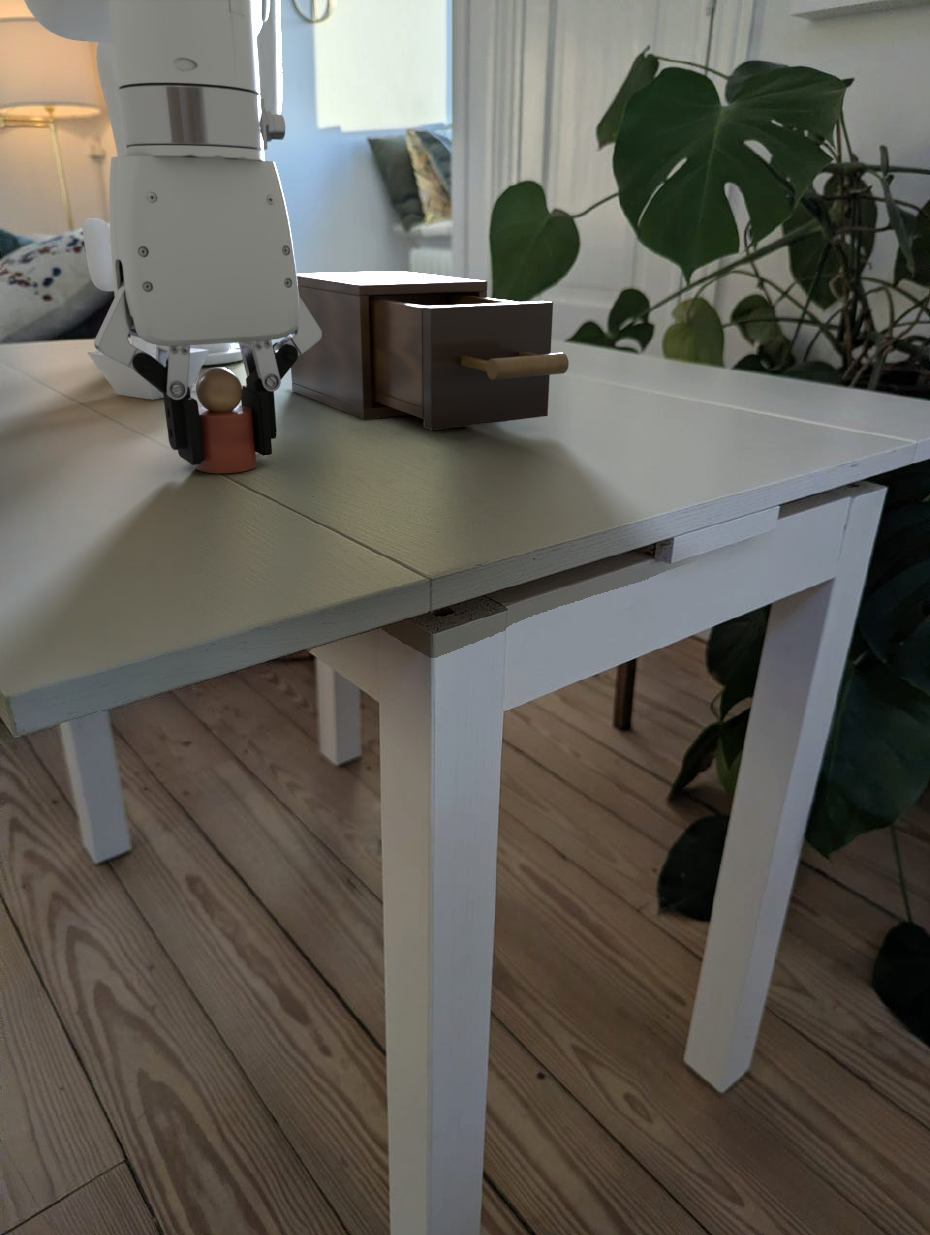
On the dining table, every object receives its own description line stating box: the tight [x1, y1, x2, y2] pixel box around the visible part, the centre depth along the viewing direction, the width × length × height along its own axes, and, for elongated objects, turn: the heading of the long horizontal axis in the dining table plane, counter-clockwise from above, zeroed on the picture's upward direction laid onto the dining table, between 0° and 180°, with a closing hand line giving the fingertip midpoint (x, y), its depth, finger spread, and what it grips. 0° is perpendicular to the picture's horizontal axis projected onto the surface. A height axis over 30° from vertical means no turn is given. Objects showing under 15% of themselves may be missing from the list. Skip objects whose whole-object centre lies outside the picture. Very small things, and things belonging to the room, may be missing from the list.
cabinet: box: [290, 270, 488, 421], centre depth 78 cm, size 15×12×10 cm
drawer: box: [369, 293, 570, 431], centre depth 69 cm, size 18×10×8 cm, turn 33°
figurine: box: [82, 217, 209, 401], centre depth 78 cm, size 7×9×15 cm
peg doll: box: [195, 366, 258, 475], centre depth 57 cm, size 4×4×6 cm
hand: (225, 452), depth 58 cm, fingers closed on peg doll, 3 cm apart
